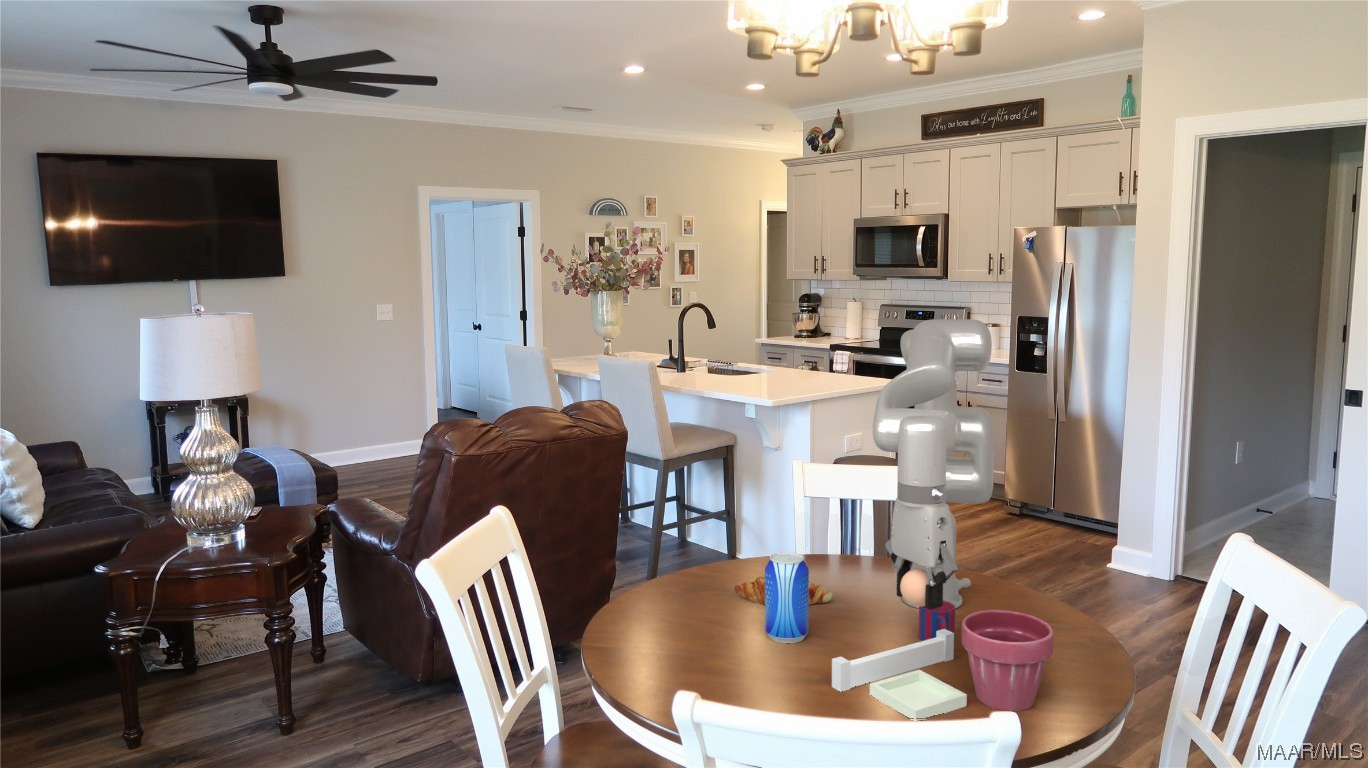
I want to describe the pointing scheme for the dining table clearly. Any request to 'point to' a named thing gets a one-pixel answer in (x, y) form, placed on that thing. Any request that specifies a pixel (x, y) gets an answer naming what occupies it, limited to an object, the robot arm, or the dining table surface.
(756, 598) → the croissant
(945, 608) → the mug
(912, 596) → the ball
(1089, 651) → the dining table surface
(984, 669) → the plant pot
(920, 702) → the square tray
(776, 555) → the beer can
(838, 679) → the rail
